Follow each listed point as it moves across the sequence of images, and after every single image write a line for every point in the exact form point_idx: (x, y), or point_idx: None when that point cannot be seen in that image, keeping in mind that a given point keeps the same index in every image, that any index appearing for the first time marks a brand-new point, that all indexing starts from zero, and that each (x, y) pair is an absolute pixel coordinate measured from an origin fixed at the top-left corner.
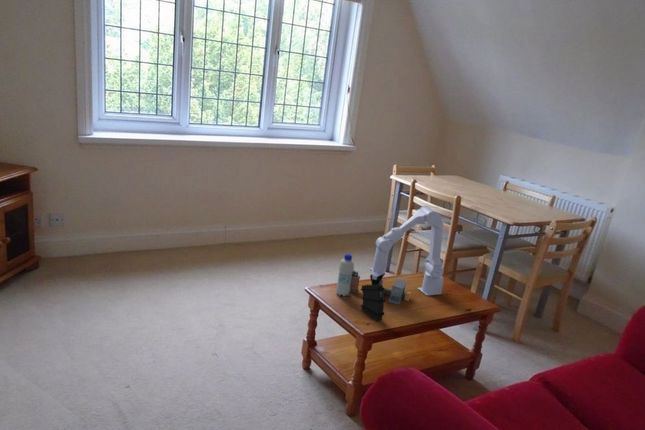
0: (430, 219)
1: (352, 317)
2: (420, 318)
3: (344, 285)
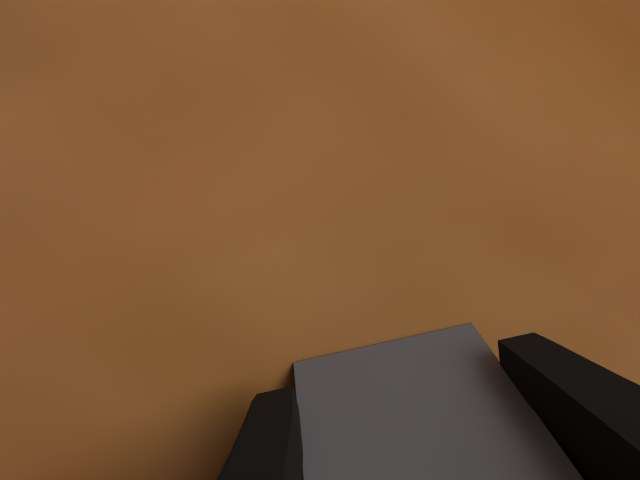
0: None
1: None
2: None
3: None
